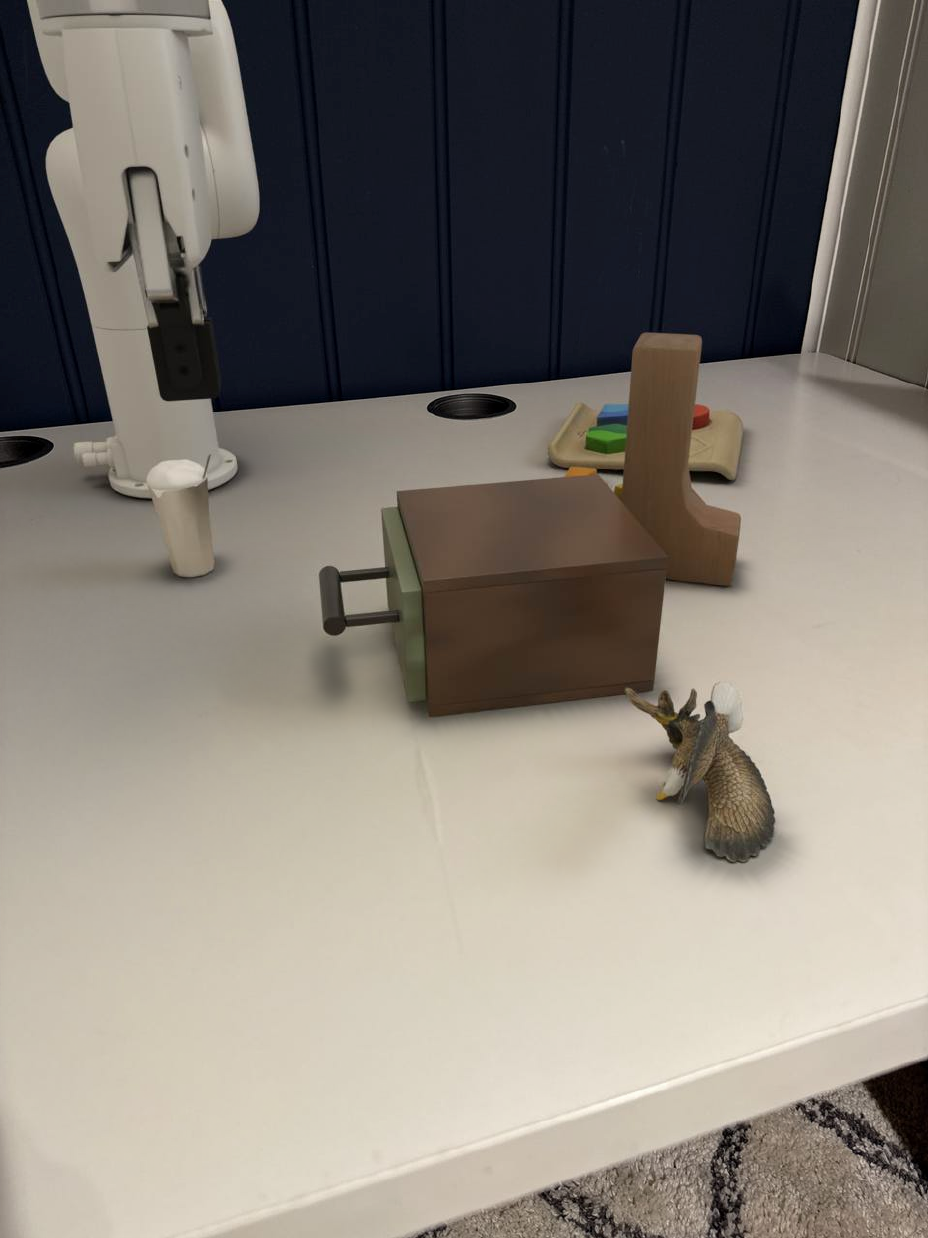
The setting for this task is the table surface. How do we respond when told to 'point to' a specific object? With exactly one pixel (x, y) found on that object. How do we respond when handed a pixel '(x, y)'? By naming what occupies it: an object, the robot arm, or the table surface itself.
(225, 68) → the robot arm
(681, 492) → the wooden block
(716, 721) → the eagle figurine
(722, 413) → the shape puzzle
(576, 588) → the cabinet
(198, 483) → the milkshake
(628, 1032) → the table surface
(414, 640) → the drawer
